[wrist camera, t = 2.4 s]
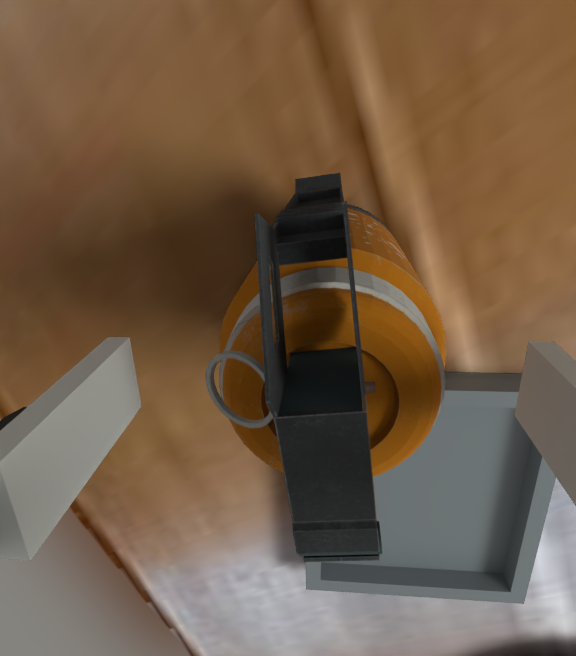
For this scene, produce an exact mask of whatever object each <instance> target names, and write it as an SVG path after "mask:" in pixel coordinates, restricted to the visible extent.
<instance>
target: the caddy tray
mask: <svg viewBox="0 0 576 656" xmlns="http://www.w3.org/2000/svg"><path fill="white" fill-rule="evenodd" d="M521 378H522V374H512V373H459V372H445V392H444V399H443V403H442V406H441V410H440V413H439V415H438V417H437V419H436V421H435V423H434V426H433V427H432V428H431V430H430V432H429V434H428V435H427V437H426V438H425V440H424V441H423V443H422V444H421V445H420V446H419V447H418V448H417V449H416V450H415V452H414V453H413V454H412V455H411V456H409V457H408V458H407V459H405V460H404V461H403V462H401V463H400V464H399V465H397V466H395V467H394V468H392V469H390V470H388V471H386V472H385V473H382V474H380V475H377V476H375V477H373V484H374V495H375V506H376V518H377V521H379V524H380V533H381V542H382V554H379V556H380V560H373V561H330V562H306V589H308V590H323V591H339V592H354V593H369V594H384V595H399V596H415V597H430V598H445V599H460V600H475V601H491V602H506V603H521V604H524V601H525V597H526V593H527V589H528V585H529V581H530V577H531V573H532V569H533V565H534V562H535V558H536V554H537V550H538V546H539V542H540V538H541V534H542V530H543V526H544V522H545V518H546V514H547V510H548V506H549V503H550V499H551V495H552V491H553V487H554V483H555V479H556V476H555V474H554V473H553V471H552V470H551V469H550V467H549V466H548V464H547V463H546V461H545V460H544V458H543V457H542V455H541V454H540V452H539V451H538V449H537V448H536V446H535V445H534V443H533V442H532V441H531V439H530V438H529V436H528V435H527V433H526V432H525V430H524V429H523V427H522V426H521V424H520V423H519V421H518V420H517V418H516V417H515V416H514V415H515V410H516V404H517V399H518V394H519V389H520V383H521Z"/></svg>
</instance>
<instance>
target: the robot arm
mask: <svg viewBox="0 0 576 656" xmlns="http://www.w3.org/2000/svg"><path fill="white" fill-rule="evenodd" d="M140 408H141V401H140V395H139V389H138V383H137V378H136V372H135V366H134V360H133V354H132V349H131V343H130V337H108V338H106V339H105V340H104V341H103V342H102V343H101V344H100V345H98V346H97V347H96V348H95V349H94V350H93V351H91V352H90V353H89V354H88V355H87V356H86V357H85V358H83V359H82V360H81V361H80V362H79V363H78V364H77V365H75V366H74V367H73V368H72V369H71V370H70V371H68V372H67V373H66V374H65V375H64V376H63V377H62V378H60V379H59V380H58V381H57V382H56V383H55V384H53V385H52V386H51V387H50V388H49V389H48V390H47V391H45V392H44V393H43V394H42V395H41V396H40V397H39V398H37V399H36V400H35V401H34V402H33V403H32V404H30V405H29V406H28V407H23V408H21V409H19V410H17V411H15V412H14V413H12V414H10V415H8V416H6V417H4V418H3V419H2V420H1V421H0V559H9V560H10V559H11V560H28V561H31V559H32V558H33V556H34V555H35V554H36V552H37V551H38V550H39V548H40V547H41V545H42V544H43V542H44V541H45V540H46V538H47V537H48V536H49V534H50V533H51V531H52V530H53V529H54V527H55V526H56V525H57V523H58V522H59V520H60V519H61V518H62V516H63V515H64V513H65V512H66V511H67V509H68V508H69V506H70V505H71V504H72V502H73V501H74V499H75V498H76V497H77V495H78V494H79V493H80V491H81V490H82V488H83V487H84V486H85V484H86V483H87V481H88V480H89V479H90V477H91V476H92V474H93V473H94V472H95V470H96V469H97V468H98V466H99V465H100V463H101V462H102V461H103V459H104V458H105V456H106V455H107V454H108V452H109V451H110V449H111V448H112V447H113V445H114V444H115V442H116V441H117V440H118V438H119V437H120V436H121V434H122V433H123V431H124V430H125V429H126V427H127V426H128V424H129V423H130V422H131V420H132V419H133V417H134V416H135V415H136V413H137V412H138V410H139V409H140ZM514 416H515V417H516V418H517V420H518V421H519V423H520V424H521V426H522V427H523V429H524V430H525V432H526V433H527V435H528V436H529V438H530V439H531V441H532V442H533V443H534V445H535V446H536V448H537V449H538V451H539V452H540V454H541V455H542V457H543V458H544V460H545V461H546V463H547V464H548V466H549V467H550V469H551V470H552V471H553V473H554V474H555V476H556V477H557V479H558V480H559V482H560V483H561V485H562V486H563V488H564V489H565V491H566V492H567V494H568V495H569V496H570V498H571V499H572V501H573V502H574V504H575V505H576V361H575V360H574V359H573V358H572V357H571V356H570V355H569V354H567V353H566V352H565V351H564V350H563V349H562V348H561V347H559V346H558V345H557V344H556V343H555V342H554V341H528V346H527V352H526V357H525V362H524V368H523V373H522V378H521V383H520V389H519V394H518V399H517V404H516V410H515V415H514Z"/></svg>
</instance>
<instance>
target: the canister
mask: <svg viewBox="0 0 576 656" xmlns="http://www.w3.org/2000/svg"><path fill="white" fill-rule="evenodd" d="M255 230H256V246H257V261H256V263H255V265H254V266H253V268H252V270H251V271H250V273H249V274H248V276H247V278H246V279H245V281H244V283H243V284H242V286H241V287H240V289H239V291H238V292H237V294H236V295H235V297H234V299H233V300H232V302H231V304H230V305H229V307H228V310H227V312H226V315H225V317H224V320H223V323H222V328H221V333H220V342H219V354H218V355H217V356H215V357H214V358H213V359H212V360H211V361H210V362H209V364H208V366H207V369H206V385H207V388H208V391H209V394H210V396H211V398H212V400H213V402H214V403H215V404H216V406H217V407H218V408H219V410H220V411H221V412H222V413H223V414H224V415H225V416H226V417H228V418H229V420H230V422H231V423H232V425H233V427H234V429H235V431H236V433H237V434H238V436H239V437H240V439H241V440H242V441H243V443H244V444H245V445H246V446H247V447H248V448H249V449H250V450H251V451H252V452H253V453H254V454H255V455H256V456H257V457H259V458H260V459H261V460H263V461H264V462H265V463H267V464H268V465H270V466H272V467H273V468H275V469H277V470H279V471H280V472H283V473H284V477H285V483H286V488H287V494H288V499H289V505H290V510H291V516H292V521H293V535H294V540H295V546H296V551H297V554H299V556H304V562H330V561H373V560H380V556H379V554H382V542H381V533H380V524H379V521H377V518H376V506H375V495H374V484H373V477H375V476H377V475H380V474H382V473H385V472H386V471H388V470H390V469H392V468H394V467H395V466H397V465H399V464H400V463H401V462H403V461H404V460H405V459H407V458H408V457H409V456H411V455H412V454H413V453H414V452H415V450H416V449H417V448H418V447H419V446H420V445H421V444H422V443H423V441H424V440H425V438H426V437H427V435H428V434H429V432H430V430H431V428H432V427H433V426H434V423H435V421H436V419H437V417H438V415H439V413H440V410H441V406H442V403H443V399H444V392H445V372H444V367H445V359H446V340H445V331H444V328H443V324H442V321H441V317H440V315H439V313H438V311H437V309H436V307H435V305H434V303H433V301H432V299H431V297H430V296H429V294H428V292H427V291H426V289H425V287H424V286H423V284H422V282H421V281H420V279H419V277H418V276H417V274H416V273H415V271H414V269H413V268H412V266H411V264H410V263H409V261H408V259H407V258H406V256H405V255H404V253H403V251H402V250H401V248H400V246H399V245H398V243H397V241H396V240H395V238H394V236H393V235H392V234H391V232H390V231H389V230H388V228H387V227H386V226H385V225H384V224H383V223H382V222H381V221H380V220H379V219H378V218H377V217H375V216H374V215H372V214H371V213H369V212H367V211H365V210H363V209H361V208H359V207H356V206H352V205H349V204H347V201H346V202H344V198H343V192H342V186H341V177H340V173H336V174H329V175H322V176H315V177H308V178H301V179H295V194H294V196H293V197H292V199H291V200H290V202H289V203H288V205H287V206H286V208H285V209H284V210H282V211H281V212H280V214H279V215H278V216H277V218H276V219H275V224H274V225H273V227H271V226H270V225H269V224H268V223H267V222H266V221H265V220H264V219H263V218H262V217H261V216H260V214H259V213H257V214H255ZM219 361H220V362H221V364H220V372H219V386H220V393H221V397H220V395H219V394H218V392H217V389H216V386H215V382H214V370H215V367H216V365H217V363H218V362H219Z"/></svg>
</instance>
